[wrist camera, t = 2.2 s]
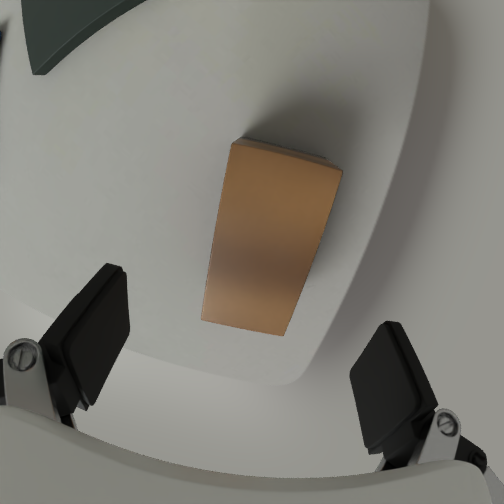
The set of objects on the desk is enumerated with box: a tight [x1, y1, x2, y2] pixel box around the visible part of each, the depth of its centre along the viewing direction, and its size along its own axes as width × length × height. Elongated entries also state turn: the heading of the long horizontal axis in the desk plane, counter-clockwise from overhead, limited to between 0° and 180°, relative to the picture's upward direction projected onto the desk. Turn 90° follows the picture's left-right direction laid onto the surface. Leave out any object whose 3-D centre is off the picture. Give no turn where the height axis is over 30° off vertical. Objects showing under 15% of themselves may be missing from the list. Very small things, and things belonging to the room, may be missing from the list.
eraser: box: [201, 137, 343, 336], centre depth 15 cm, size 10×5×4 cm, turn 168°
